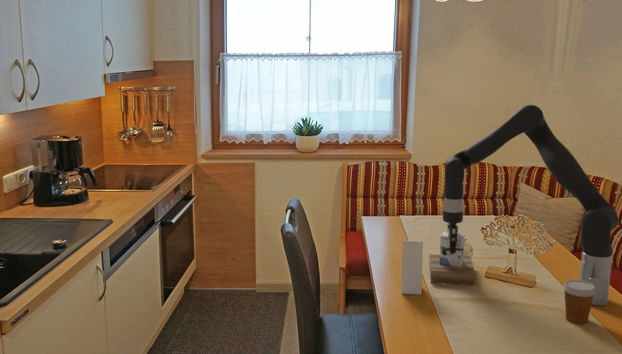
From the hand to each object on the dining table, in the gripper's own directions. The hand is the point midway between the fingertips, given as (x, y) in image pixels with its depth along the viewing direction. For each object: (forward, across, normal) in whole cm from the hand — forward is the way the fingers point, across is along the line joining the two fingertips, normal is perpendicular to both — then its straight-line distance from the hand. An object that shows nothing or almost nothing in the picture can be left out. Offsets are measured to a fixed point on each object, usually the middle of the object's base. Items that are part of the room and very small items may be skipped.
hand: (451, 249), depth 219 cm
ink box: (+6, 0, 0) cm, 6 cm away
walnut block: (+11, 0, 0) cm, 11 cm away
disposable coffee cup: (+11, -34, -37) cm, 51 cm away
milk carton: (+11, -17, +15) cm, 25 cm away
